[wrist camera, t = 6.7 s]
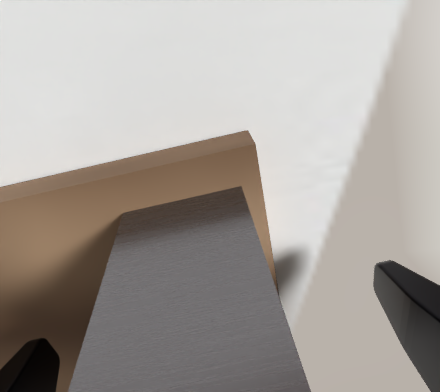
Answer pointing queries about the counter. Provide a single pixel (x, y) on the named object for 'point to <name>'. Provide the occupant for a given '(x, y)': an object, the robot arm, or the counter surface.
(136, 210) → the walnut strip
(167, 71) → the counter surface
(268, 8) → the counter surface
